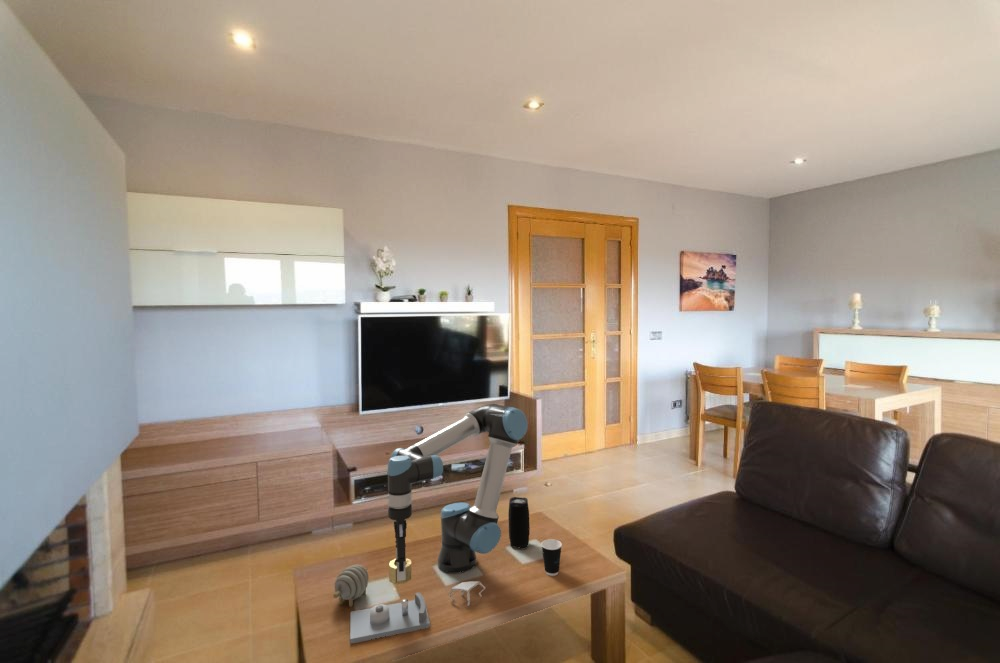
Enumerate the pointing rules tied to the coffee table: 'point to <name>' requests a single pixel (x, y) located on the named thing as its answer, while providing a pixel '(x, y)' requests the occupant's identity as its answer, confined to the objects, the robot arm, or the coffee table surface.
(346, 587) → the toy sheep
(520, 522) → the portable speaker
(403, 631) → the carrier plate
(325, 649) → the coffee table surface
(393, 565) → the gold octagonal ring
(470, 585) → the origami figure
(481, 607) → the coffee table surface
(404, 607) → the pin
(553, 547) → the dixie cup
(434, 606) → the coffee table surface
